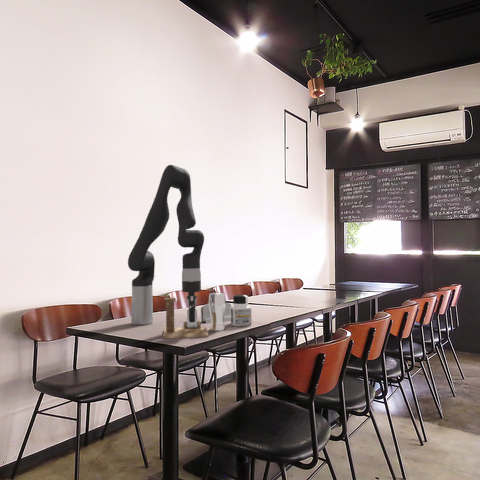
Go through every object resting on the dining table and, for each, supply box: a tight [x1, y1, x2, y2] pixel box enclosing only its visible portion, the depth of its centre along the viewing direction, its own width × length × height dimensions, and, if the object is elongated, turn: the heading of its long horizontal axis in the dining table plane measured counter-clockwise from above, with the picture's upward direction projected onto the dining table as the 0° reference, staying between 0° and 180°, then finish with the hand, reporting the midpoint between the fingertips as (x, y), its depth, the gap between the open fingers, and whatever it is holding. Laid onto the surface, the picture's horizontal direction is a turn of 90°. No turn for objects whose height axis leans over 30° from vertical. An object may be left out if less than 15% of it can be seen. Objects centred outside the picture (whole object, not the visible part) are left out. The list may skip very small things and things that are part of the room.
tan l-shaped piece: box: [162, 297, 209, 339], centre depth 165 cm, size 17×16×14 cm
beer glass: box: [208, 292, 226, 332], centre depth 172 cm, size 7×7×15 cm
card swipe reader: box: [200, 301, 232, 324], centre depth 196 cm, size 17×5×10 cm, turn 123°
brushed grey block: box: [186, 309, 198, 329], centre depth 165 cm, size 4×4×8 cm
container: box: [230, 294, 253, 327], centre depth 184 cm, size 8×8×13 cm
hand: (191, 320), depth 165 cm, fingers open, 8 cm apart
